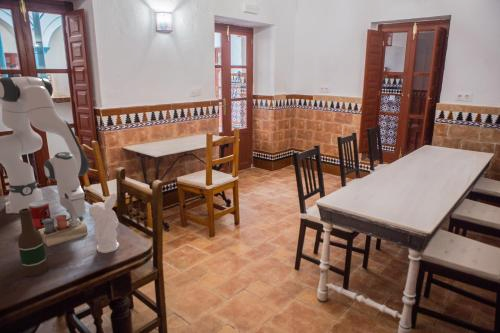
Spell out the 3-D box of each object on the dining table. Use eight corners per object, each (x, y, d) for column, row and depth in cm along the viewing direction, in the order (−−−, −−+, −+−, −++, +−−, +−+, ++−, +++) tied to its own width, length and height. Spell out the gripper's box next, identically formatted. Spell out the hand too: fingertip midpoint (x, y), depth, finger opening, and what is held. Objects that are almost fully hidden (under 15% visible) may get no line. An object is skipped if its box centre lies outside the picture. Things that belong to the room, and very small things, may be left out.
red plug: (56, 228, 156) (53, 216, 154) (66, 225, 159) (64, 214, 157) (59, 231, 153) (57, 219, 151) (69, 228, 156) (67, 216, 154)
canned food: (43, 229, 163) (39, 206, 160) (28, 228, 165) (24, 205, 162) (55, 222, 170) (52, 200, 167) (41, 221, 172) (37, 199, 169)
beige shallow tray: (39, 238, 155) (38, 229, 154) (78, 226, 166) (76, 218, 165) (48, 246, 148) (46, 238, 147) (87, 234, 159) (86, 225, 157)
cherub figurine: (100, 257, 140) (91, 204, 134) (86, 246, 148) (77, 196, 142) (128, 245, 149) (122, 195, 142) (113, 236, 157) (107, 188, 150)
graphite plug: (43, 232, 152) (41, 220, 151) (54, 229, 155) (51, 217, 154) (46, 235, 150) (44, 223, 148) (57, 232, 152) (55, 220, 151)
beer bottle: (30, 266, 134) (18, 205, 127) (52, 265, 134) (41, 205, 128) (19, 278, 126) (6, 214, 120) (42, 276, 127) (30, 213, 120)
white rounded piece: (69, 231, 160) (67, 220, 159) (78, 228, 163) (77, 217, 161) (72, 234, 157) (70, 223, 156) (82, 231, 160) (80, 220, 159)
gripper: (53, 186, 160) (58, 215, 163) (70, 198, 146) (75, 229, 150) (68, 183, 164) (72, 211, 168) (86, 194, 150) (90, 224, 154)
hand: (74, 219), depth 159 cm, fingers closed
